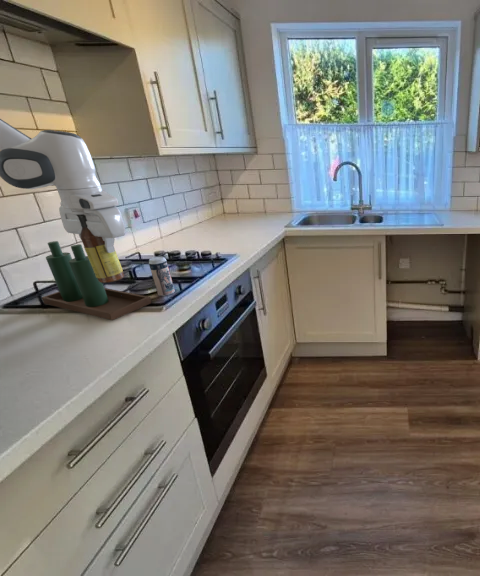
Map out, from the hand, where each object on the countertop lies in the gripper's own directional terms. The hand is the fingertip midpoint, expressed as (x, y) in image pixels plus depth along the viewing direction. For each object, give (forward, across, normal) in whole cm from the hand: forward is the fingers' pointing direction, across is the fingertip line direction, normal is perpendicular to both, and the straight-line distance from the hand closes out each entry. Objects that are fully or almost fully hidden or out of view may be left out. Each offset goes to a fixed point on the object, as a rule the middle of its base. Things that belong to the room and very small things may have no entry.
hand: (101, 251), depth 98 cm
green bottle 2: (+18, -11, 0) cm, 21 cm away
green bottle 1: (+18, -22, 0) cm, 28 cm away
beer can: (+18, +2, +13) cm, 23 cm away
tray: (+18, -11, 0) cm, 21 cm away
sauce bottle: (+9, 0, 0) cm, 9 cm away
